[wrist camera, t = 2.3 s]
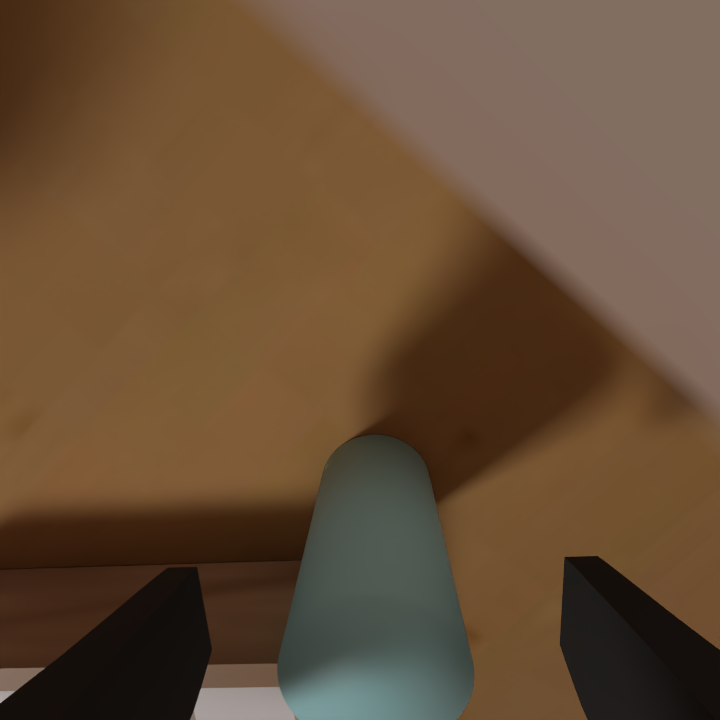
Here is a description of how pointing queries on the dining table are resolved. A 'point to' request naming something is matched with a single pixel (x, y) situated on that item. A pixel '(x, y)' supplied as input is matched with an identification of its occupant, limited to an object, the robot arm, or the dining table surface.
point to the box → (118, 584)
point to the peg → (375, 597)
